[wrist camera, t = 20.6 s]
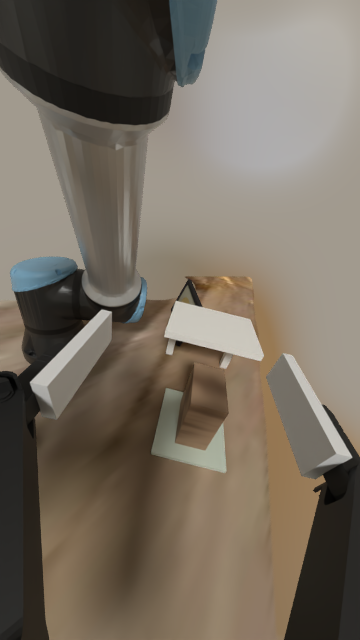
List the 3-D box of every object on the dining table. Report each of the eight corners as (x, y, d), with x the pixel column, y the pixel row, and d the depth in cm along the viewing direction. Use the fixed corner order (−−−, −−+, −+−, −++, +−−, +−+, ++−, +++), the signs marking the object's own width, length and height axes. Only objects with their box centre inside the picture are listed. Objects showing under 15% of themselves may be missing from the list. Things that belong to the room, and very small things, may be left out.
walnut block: (205, 450, 35) (228, 413, 28) (174, 443, 35) (190, 403, 28) (205, 407, 43) (224, 369, 36) (180, 401, 43) (194, 362, 36)
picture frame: (170, 309, 79) (182, 277, 71) (190, 314, 81) (203, 283, 74) (176, 345, 60) (192, 307, 52) (201, 350, 62) (219, 313, 55)
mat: (224, 473, 34) (226, 471, 33) (150, 454, 34) (151, 452, 33) (220, 403, 45) (221, 401, 45) (165, 390, 45) (166, 388, 45)
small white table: (232, 406, 45) (264, 355, 36) (153, 386, 45) (165, 330, 36) (227, 364, 58) (249, 318, 48) (165, 348, 58) (176, 299, 48)
